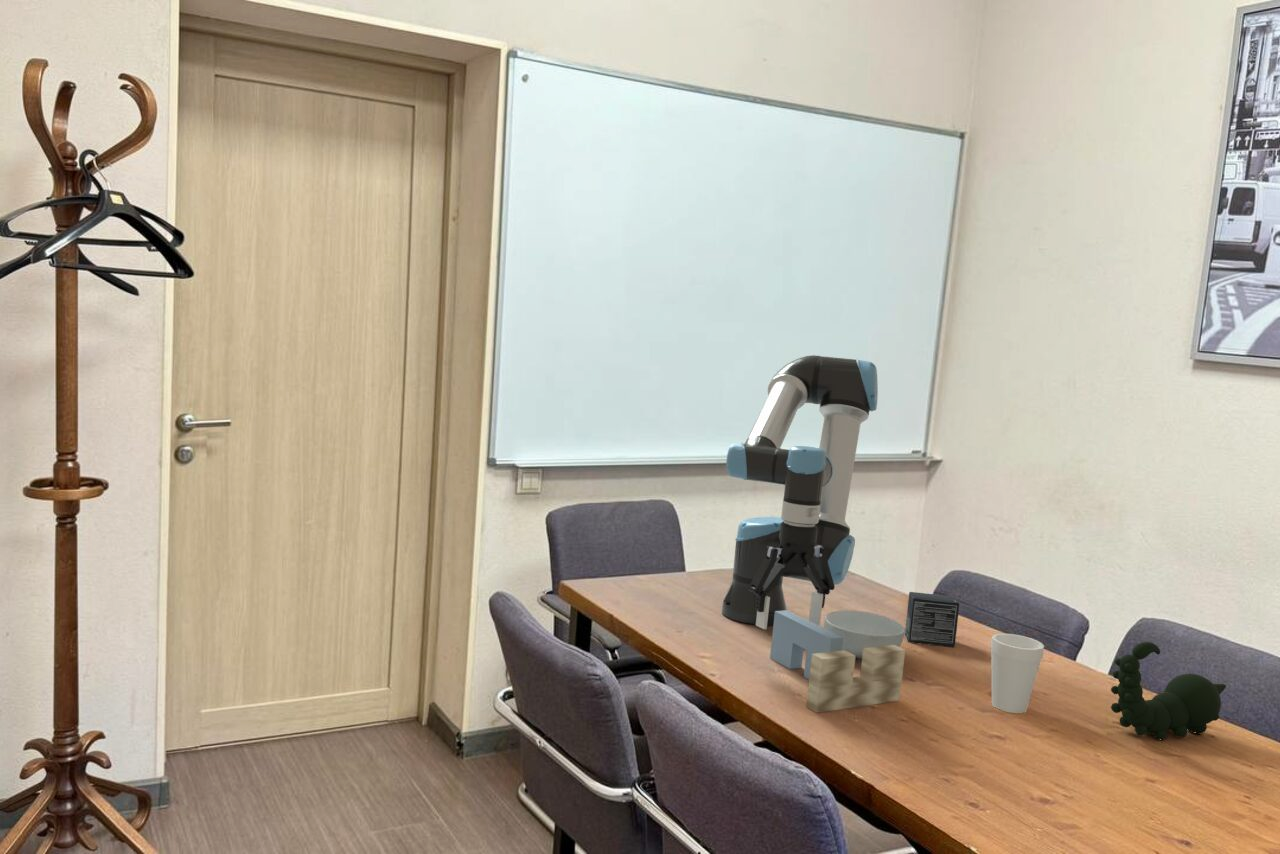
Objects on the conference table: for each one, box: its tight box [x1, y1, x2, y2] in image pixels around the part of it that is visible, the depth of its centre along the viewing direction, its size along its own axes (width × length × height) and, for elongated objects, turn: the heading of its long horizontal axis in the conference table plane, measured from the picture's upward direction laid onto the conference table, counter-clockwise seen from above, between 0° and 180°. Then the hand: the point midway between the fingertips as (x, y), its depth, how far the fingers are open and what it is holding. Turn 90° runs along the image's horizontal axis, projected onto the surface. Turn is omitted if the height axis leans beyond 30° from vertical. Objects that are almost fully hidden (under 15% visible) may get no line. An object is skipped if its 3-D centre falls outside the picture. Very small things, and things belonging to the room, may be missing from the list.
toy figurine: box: [1110, 641, 1227, 741], centre depth 198 cm, size 9×19×25 cm
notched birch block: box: [805, 645, 906, 714], centre depth 199 cm, size 20×3×10 cm, turn 120°
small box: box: [904, 591, 961, 648], centre depth 244 cm, size 11×6×10 cm, turn 84°
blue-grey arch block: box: [769, 610, 843, 680], centre depth 214 cm, size 18×3×10 cm, turn 30°
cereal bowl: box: [823, 609, 906, 660], centre depth 230 cm, size 17×17×7 cm
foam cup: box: [989, 633, 1045, 714], centre depth 205 cm, size 10×9×13 cm
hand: (788, 625), depth 219 cm, fingers open, 13 cm apart
